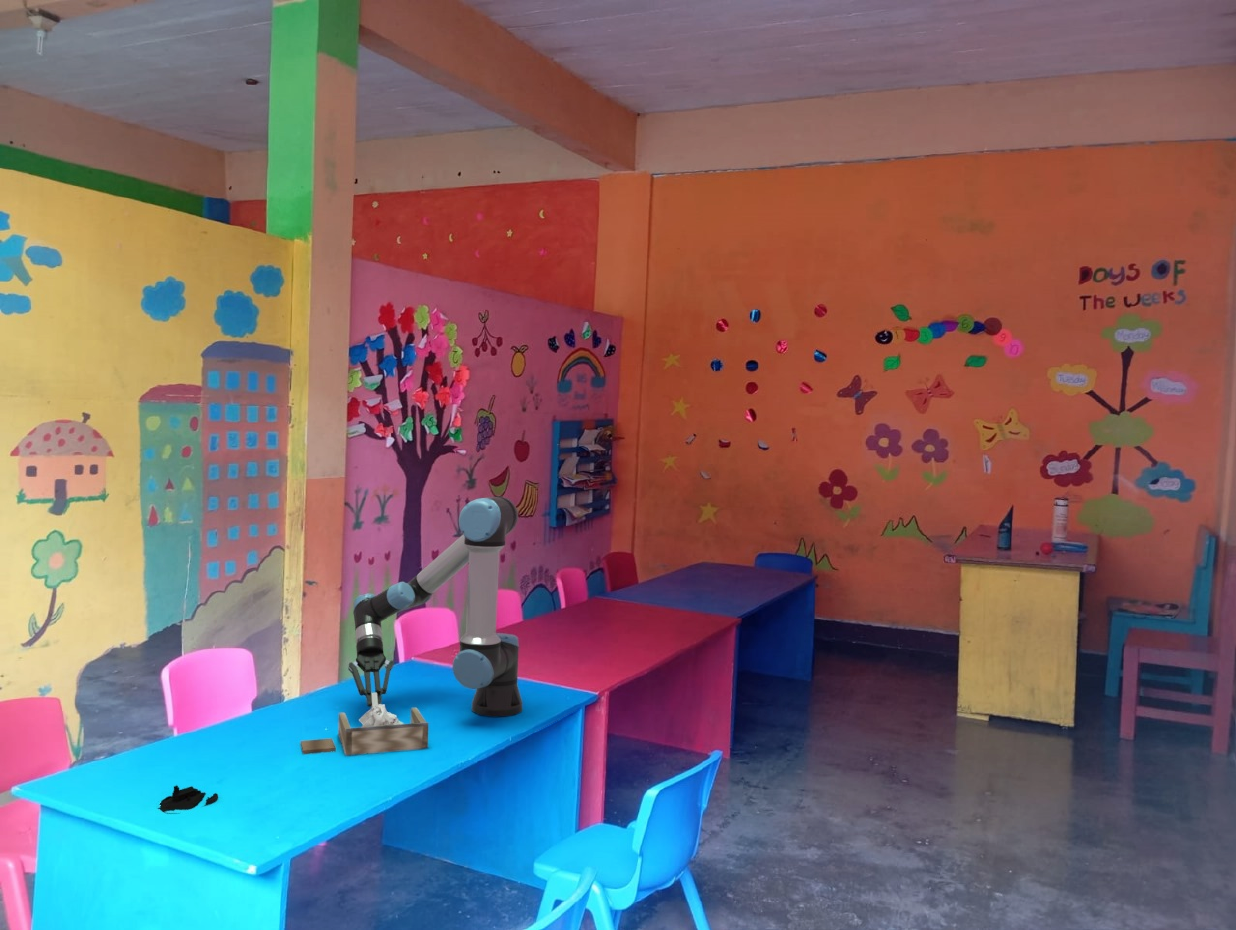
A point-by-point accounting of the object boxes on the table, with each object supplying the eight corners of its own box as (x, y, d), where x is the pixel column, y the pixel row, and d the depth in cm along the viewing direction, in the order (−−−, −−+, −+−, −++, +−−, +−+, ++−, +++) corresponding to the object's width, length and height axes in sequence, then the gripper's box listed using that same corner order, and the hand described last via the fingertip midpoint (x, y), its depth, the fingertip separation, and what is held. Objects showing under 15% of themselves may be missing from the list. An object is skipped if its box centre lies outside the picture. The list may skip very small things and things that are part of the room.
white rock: (406, 731, 263) (380, 707, 262) (382, 756, 262) (356, 732, 261) (407, 719, 275) (382, 696, 274) (384, 742, 274) (358, 719, 272)
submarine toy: (173, 819, 211) (174, 796, 211) (146, 808, 216) (147, 786, 216) (223, 803, 221) (223, 781, 221) (196, 792, 226) (196, 771, 226)
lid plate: (331, 743, 263) (332, 738, 263) (335, 753, 256) (335, 747, 256) (300, 746, 260) (300, 740, 260) (303, 756, 253) (303, 750, 253)
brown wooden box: (415, 728, 277) (416, 704, 277) (427, 748, 261) (428, 722, 260) (338, 734, 269) (339, 710, 269) (345, 755, 253) (346, 729, 253)
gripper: (390, 649, 294) (397, 720, 279) (345, 651, 289) (349, 724, 274) (393, 635, 289) (401, 707, 274) (347, 636, 284) (352, 710, 269)
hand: (375, 715), depth 274 cm, fingers closed
